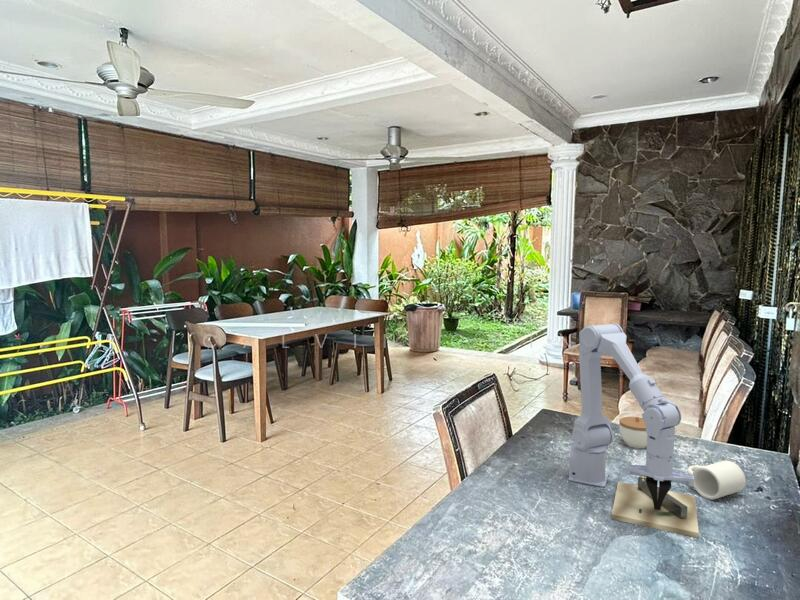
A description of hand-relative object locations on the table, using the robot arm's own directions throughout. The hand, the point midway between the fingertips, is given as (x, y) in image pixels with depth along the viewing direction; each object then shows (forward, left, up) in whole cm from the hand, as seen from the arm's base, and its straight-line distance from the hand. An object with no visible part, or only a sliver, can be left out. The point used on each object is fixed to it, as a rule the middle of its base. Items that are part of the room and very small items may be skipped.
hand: (657, 507), depth 123 cm
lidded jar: (-7, +47, -2) cm, 48 cm away
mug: (+12, +21, -2) cm, 25 cm away
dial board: (-1, +3, -2) cm, 4 cm away
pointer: (+1, +6, -1) cm, 6 cm away
